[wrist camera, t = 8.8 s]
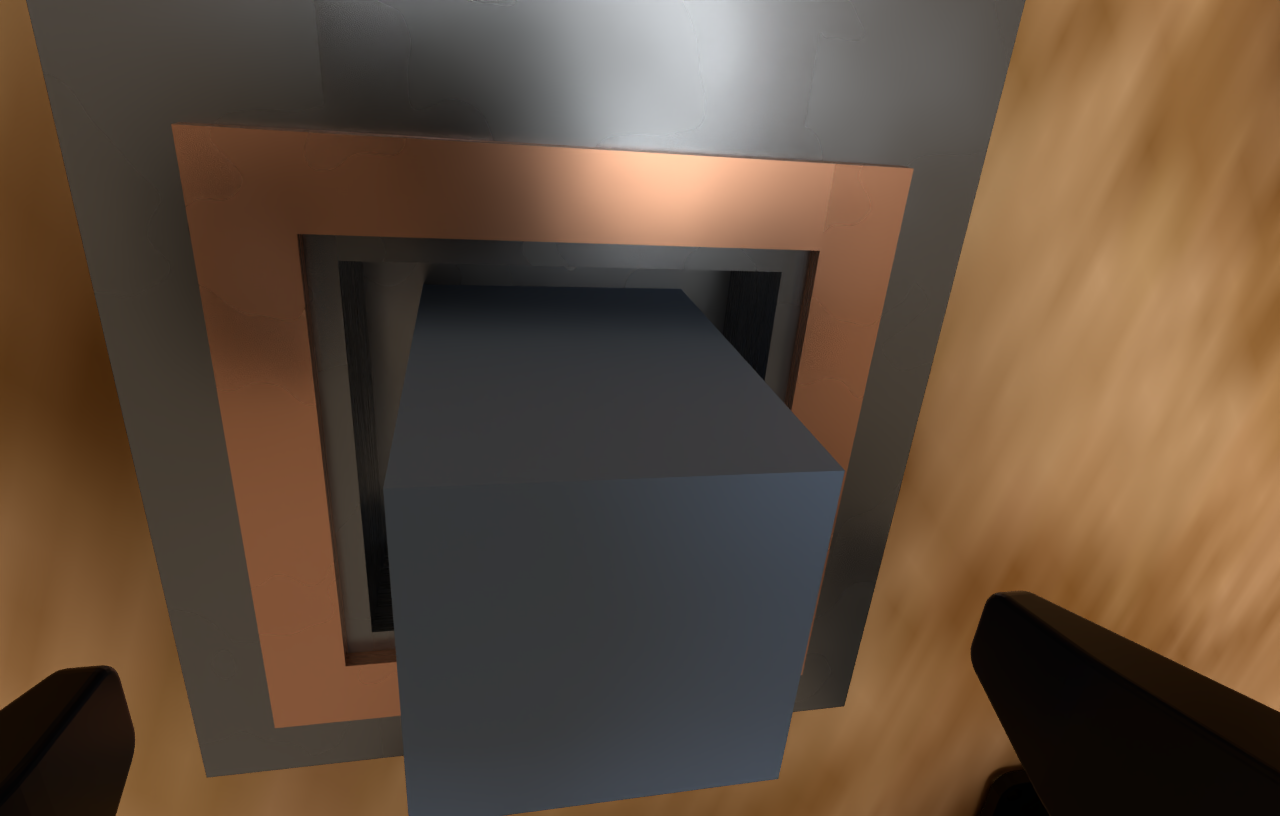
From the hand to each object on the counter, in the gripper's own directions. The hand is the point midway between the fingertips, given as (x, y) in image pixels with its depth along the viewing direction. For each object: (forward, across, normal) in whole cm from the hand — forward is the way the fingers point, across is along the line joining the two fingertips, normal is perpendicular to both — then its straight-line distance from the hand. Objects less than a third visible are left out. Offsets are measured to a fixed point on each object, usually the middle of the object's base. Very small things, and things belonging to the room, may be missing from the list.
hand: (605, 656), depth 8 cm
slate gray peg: (+7, 0, 0) cm, 7 cm away
